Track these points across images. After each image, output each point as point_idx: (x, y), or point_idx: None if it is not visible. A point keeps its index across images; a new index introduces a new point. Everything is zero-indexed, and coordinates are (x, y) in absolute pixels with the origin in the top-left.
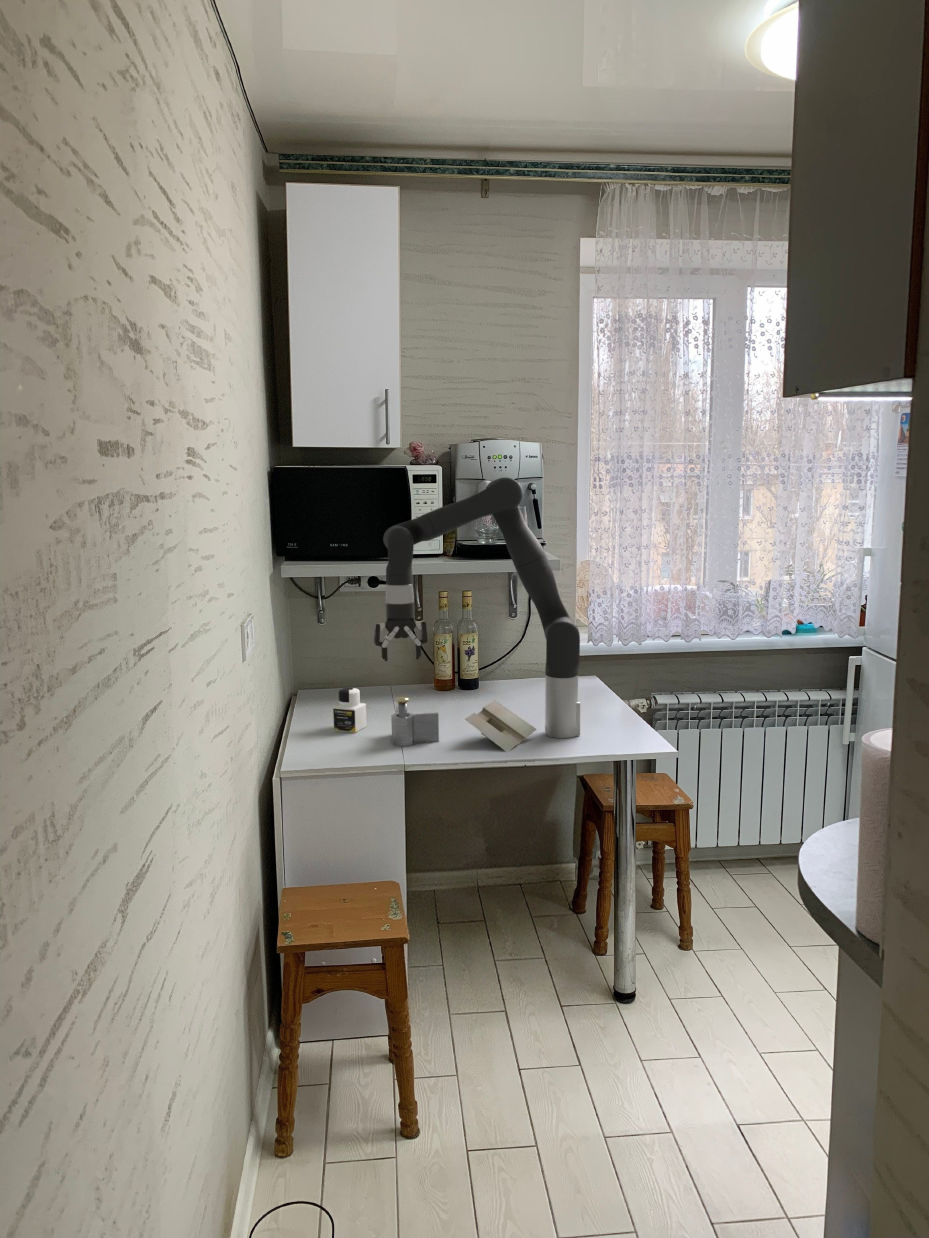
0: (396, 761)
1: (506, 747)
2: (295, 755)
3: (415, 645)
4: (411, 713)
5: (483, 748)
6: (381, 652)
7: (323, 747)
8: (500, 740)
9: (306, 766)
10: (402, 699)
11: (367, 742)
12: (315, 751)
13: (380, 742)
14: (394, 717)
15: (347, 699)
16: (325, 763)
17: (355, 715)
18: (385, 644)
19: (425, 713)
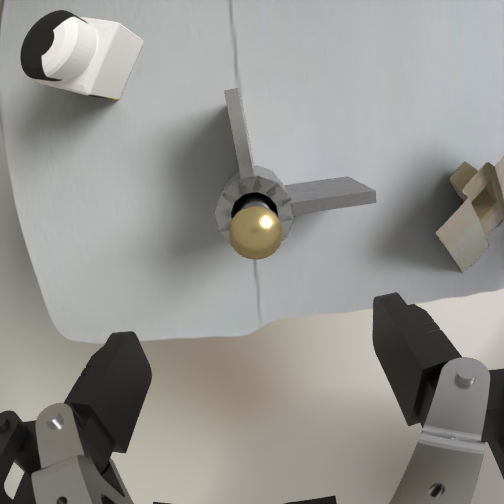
0: (244, 325)
1: (468, 263)
2: (42, 270)
3: (417, 397)
4: (285, 193)
5: (433, 250)
6: (80, 381)
7: (71, 220)
8: (469, 252)
9: (82, 331)
10: (256, 252)
11: (158, 182)
12: (65, 247)
13: (192, 182)
14: (227, 240)
15: (53, 80)
16: (106, 321)
17: (99, 93)
18: (106, 478)
19: (334, 198)
